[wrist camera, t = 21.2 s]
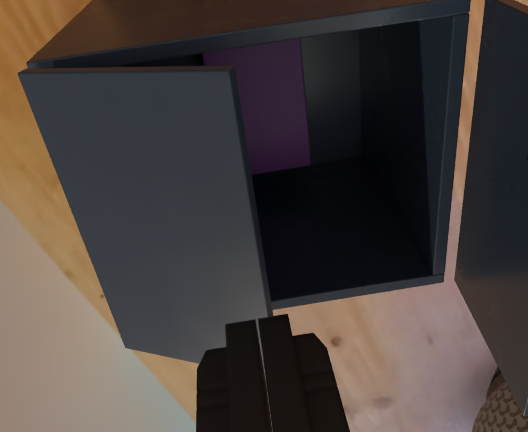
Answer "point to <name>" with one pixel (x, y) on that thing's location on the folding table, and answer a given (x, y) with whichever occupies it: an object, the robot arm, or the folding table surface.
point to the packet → (270, 102)
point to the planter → (500, 411)
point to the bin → (367, 143)
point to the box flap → (159, 197)
